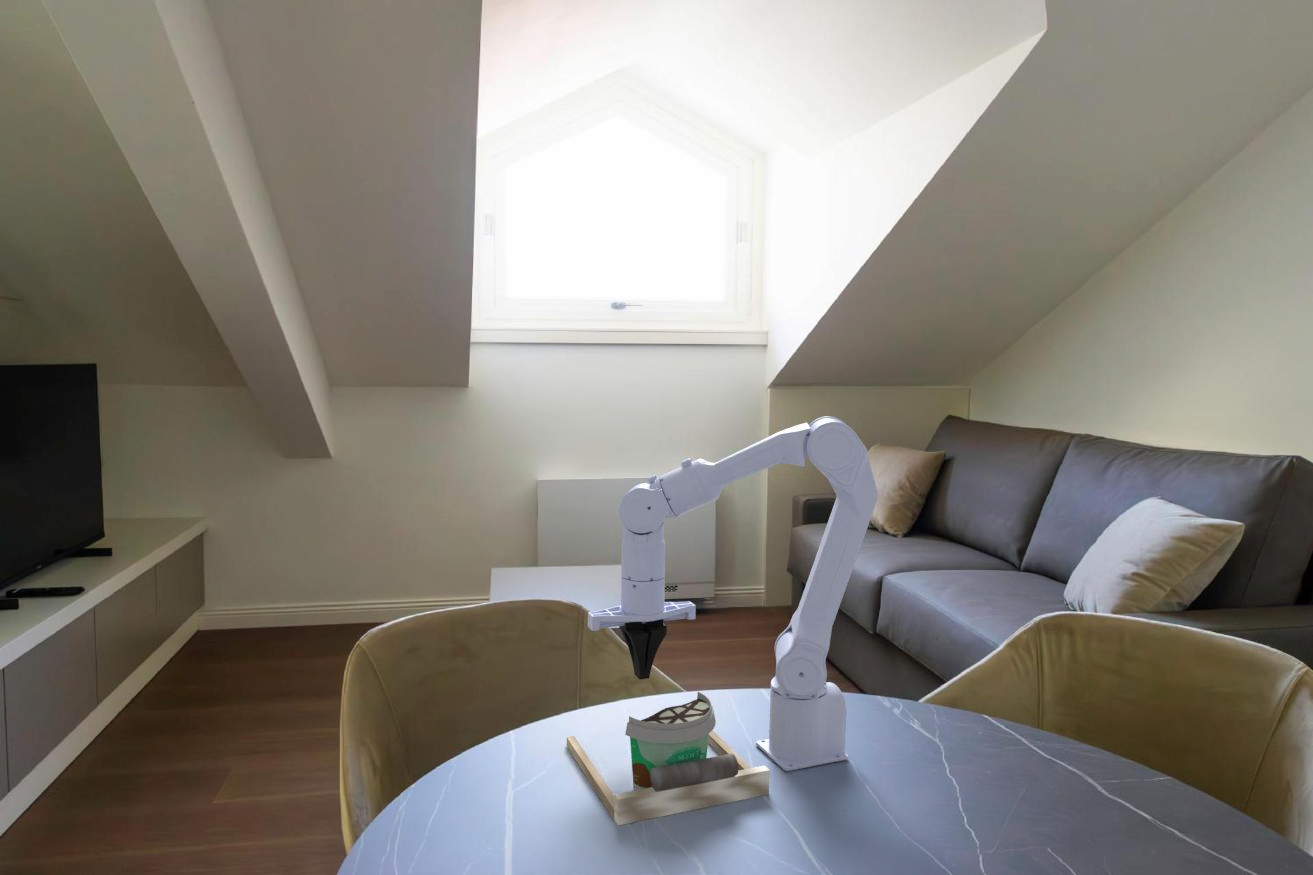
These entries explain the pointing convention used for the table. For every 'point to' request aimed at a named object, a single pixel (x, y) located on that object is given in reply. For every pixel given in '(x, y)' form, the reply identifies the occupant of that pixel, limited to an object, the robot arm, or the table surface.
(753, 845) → the table surface
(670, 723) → the food container
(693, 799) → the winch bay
